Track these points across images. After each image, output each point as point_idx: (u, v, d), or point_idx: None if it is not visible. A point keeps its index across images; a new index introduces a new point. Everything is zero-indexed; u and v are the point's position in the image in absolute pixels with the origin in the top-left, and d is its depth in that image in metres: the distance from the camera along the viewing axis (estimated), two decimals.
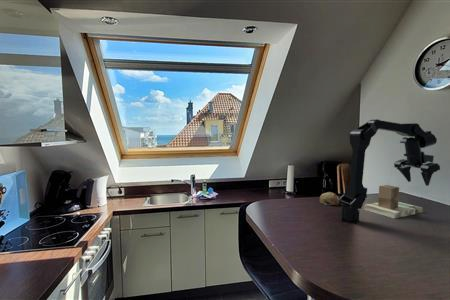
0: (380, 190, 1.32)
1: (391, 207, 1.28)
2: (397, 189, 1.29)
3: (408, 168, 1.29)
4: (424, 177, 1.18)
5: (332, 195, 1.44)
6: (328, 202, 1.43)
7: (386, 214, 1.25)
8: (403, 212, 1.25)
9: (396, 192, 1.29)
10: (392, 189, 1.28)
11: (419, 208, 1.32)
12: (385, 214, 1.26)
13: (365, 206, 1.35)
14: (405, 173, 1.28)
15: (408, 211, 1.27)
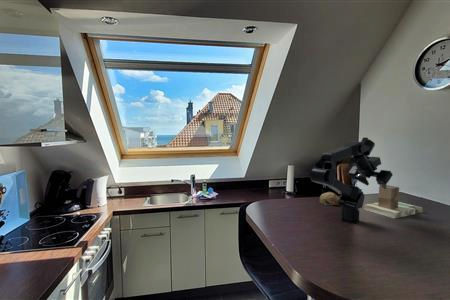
0: (380, 190, 1.32)
1: (391, 207, 1.28)
2: (397, 189, 1.29)
3: None
4: (381, 185, 1.20)
5: (332, 195, 1.44)
6: (328, 202, 1.43)
7: (386, 214, 1.25)
8: (403, 212, 1.25)
9: (396, 192, 1.29)
10: (392, 189, 1.28)
11: (419, 208, 1.32)
12: (385, 214, 1.26)
13: (365, 206, 1.35)
14: (362, 180, 1.29)
15: (408, 211, 1.27)
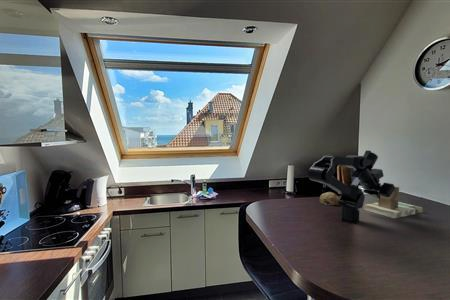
0: None
1: (391, 207, 1.28)
2: (397, 189, 1.29)
3: None
4: (375, 196, 1.25)
5: (332, 195, 1.44)
6: (328, 202, 1.43)
7: (386, 214, 1.25)
8: (403, 212, 1.25)
9: (396, 192, 1.29)
10: None
11: (419, 208, 1.32)
12: (385, 214, 1.26)
13: (365, 206, 1.35)
14: None
15: (408, 211, 1.27)
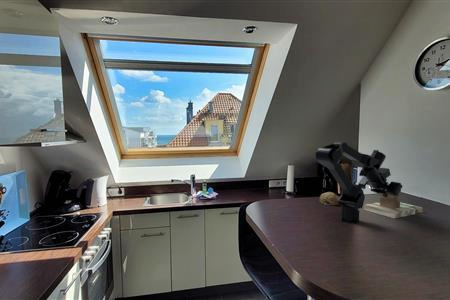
0: None
1: (393, 207, 1.29)
2: None
3: None
4: (382, 194, 1.27)
5: (332, 195, 1.44)
6: (328, 202, 1.43)
7: (386, 214, 1.25)
8: (403, 212, 1.25)
9: None
10: None
11: (419, 208, 1.32)
12: (385, 214, 1.26)
13: (365, 206, 1.35)
14: (380, 192, 1.29)
15: (408, 211, 1.27)
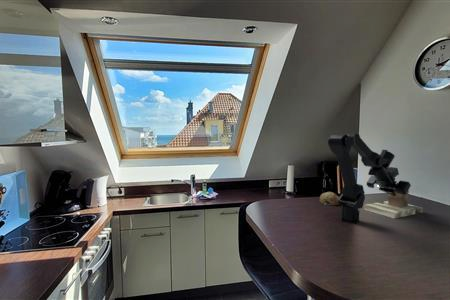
0: None
1: (401, 205, 1.32)
2: None
3: None
4: (391, 193, 1.30)
5: (332, 195, 1.44)
6: (328, 202, 1.43)
7: (386, 214, 1.25)
8: (403, 212, 1.25)
9: None
10: None
11: (419, 208, 1.32)
12: (385, 214, 1.26)
13: (365, 206, 1.35)
14: (388, 191, 1.32)
15: (408, 211, 1.27)
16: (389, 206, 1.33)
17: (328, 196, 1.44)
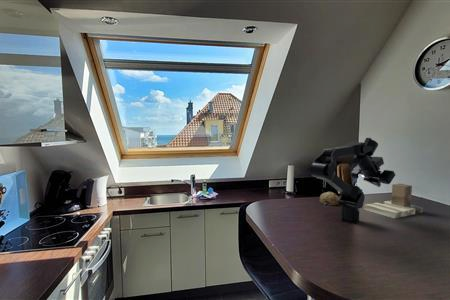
0: (393, 188, 1.36)
1: (404, 205, 1.33)
2: (410, 187, 1.34)
3: None
4: (375, 183, 1.24)
5: (332, 195, 1.44)
6: (328, 202, 1.44)
7: (386, 214, 1.25)
8: (403, 212, 1.25)
9: (409, 190, 1.34)
10: (405, 187, 1.32)
11: (419, 208, 1.32)
12: (385, 214, 1.26)
13: (365, 206, 1.35)
14: (373, 182, 1.26)
15: (408, 211, 1.27)
16: (389, 206, 1.33)
17: (328, 196, 1.44)
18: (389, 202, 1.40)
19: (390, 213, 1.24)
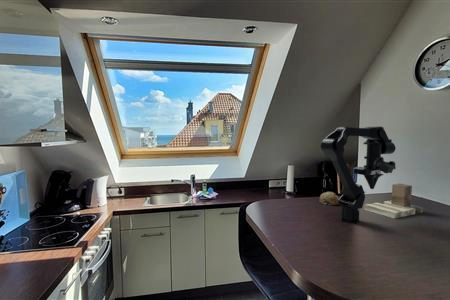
0: (393, 188, 1.36)
1: (404, 205, 1.33)
2: (410, 187, 1.34)
3: (375, 175, 1.22)
4: None
5: (332, 195, 1.44)
6: (328, 202, 1.44)
7: (386, 214, 1.25)
8: (403, 212, 1.25)
9: (409, 190, 1.34)
10: (405, 187, 1.32)
11: (419, 208, 1.32)
12: (385, 214, 1.26)
13: (365, 206, 1.35)
14: None
15: (408, 211, 1.27)
16: (389, 206, 1.33)
17: (328, 196, 1.44)
18: (389, 202, 1.40)
19: (390, 213, 1.24)
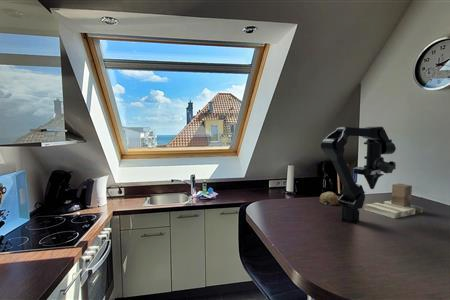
0: (393, 188, 1.36)
1: (404, 205, 1.33)
2: (410, 187, 1.34)
3: None
4: None
5: (332, 195, 1.45)
6: (328, 202, 1.44)
7: (386, 214, 1.25)
8: (403, 212, 1.25)
9: (409, 190, 1.34)
10: (405, 187, 1.32)
11: (419, 208, 1.32)
12: (385, 214, 1.26)
13: (365, 206, 1.35)
14: None
15: (408, 211, 1.27)
16: (389, 206, 1.33)
17: (328, 196, 1.45)
18: (389, 202, 1.40)
19: (390, 213, 1.24)
